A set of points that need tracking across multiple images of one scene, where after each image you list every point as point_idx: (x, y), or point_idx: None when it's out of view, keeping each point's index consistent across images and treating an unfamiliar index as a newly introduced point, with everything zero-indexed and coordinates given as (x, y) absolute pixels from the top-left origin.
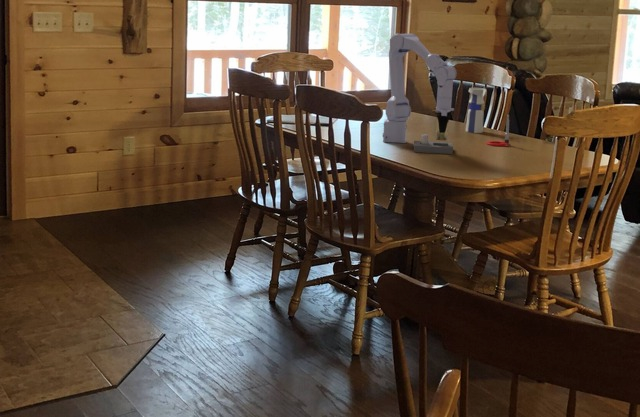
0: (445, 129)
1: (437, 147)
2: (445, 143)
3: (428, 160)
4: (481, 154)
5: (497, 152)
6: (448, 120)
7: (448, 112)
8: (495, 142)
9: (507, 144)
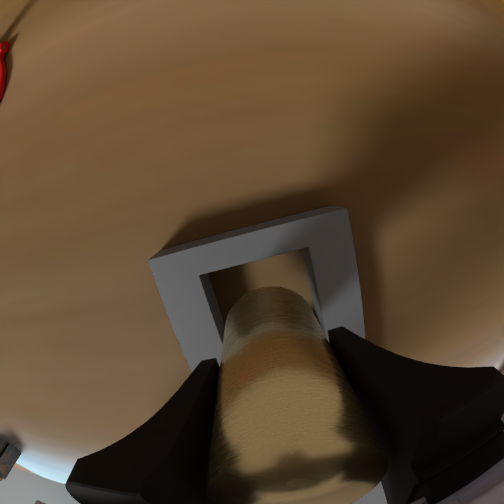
0: (359, 338)
1: (361, 307)
2: (204, 293)
3: (493, 279)
4: (246, 47)
5: (142, 5)
6: (451, 368)
7: (89, 497)
8: None
9: (4, 41)
